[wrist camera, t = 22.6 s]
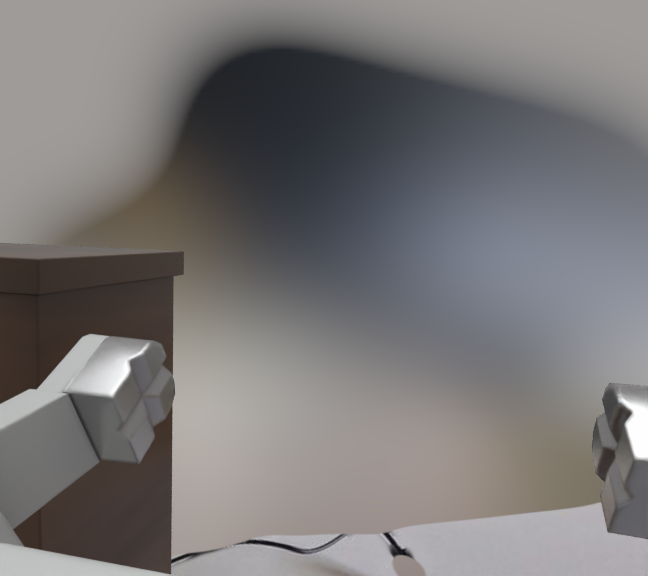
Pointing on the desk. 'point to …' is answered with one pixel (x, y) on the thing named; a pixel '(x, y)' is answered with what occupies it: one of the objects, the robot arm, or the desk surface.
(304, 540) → the desk surface
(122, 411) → the robot arm
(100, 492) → the stand
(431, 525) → the desk surface
